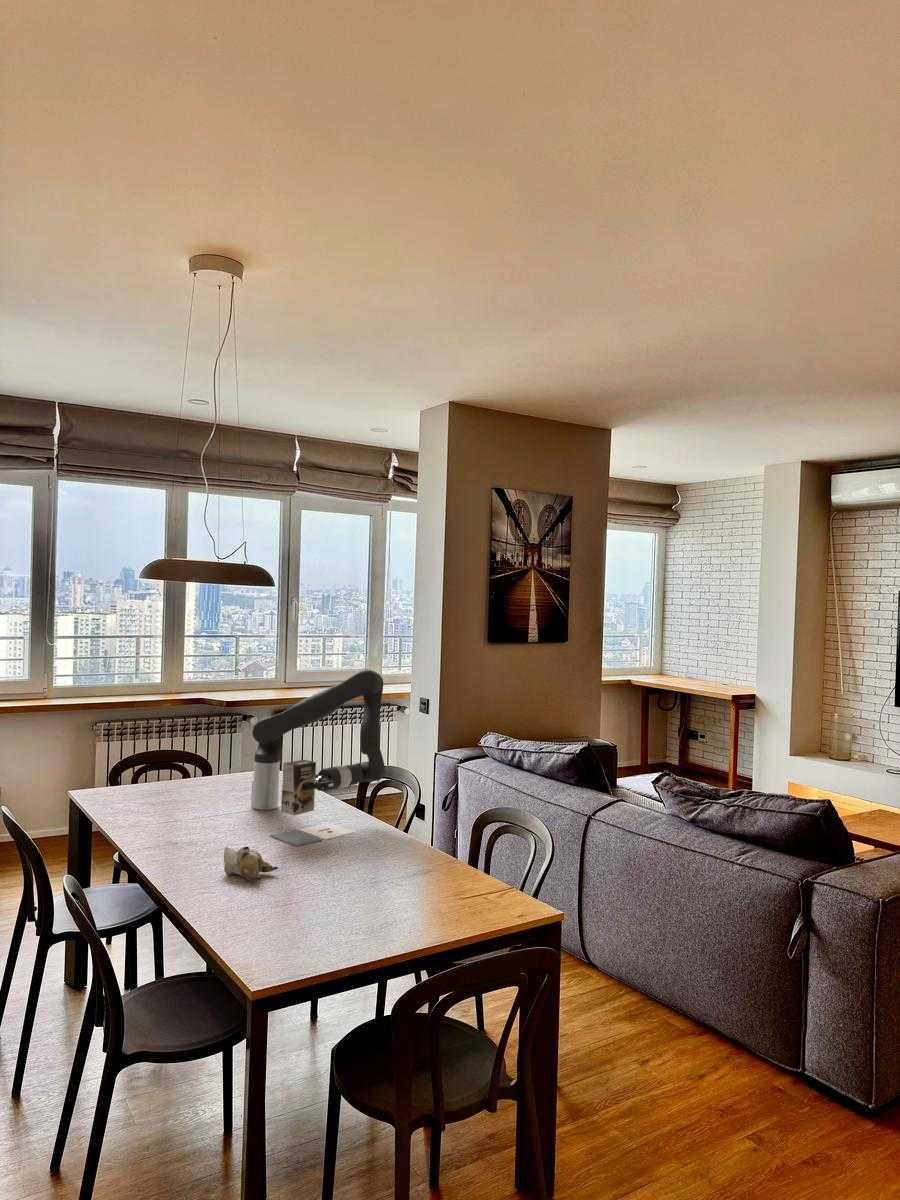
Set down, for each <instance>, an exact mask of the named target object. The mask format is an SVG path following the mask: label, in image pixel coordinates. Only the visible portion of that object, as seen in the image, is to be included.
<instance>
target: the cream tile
mask: <svg viewBox="0 0 900 1200" xmlns="http://www.w3.org/2000/svg"><path fill="white" fill-rule="evenodd" d="M298 831H300V832H302V833H305V834H308V835H311V836H313V837H316V838H319V839H322V840H325V841H326V840H330V839H334V838H338V837H343V836H347V835H351V834H354V833H356V831H355V830H351V829H348V828H345V827H342V826H339V825H336V824H333V823H330V822H326V823H322V824H318V825H314V826H310V827H304V828H300V829H298Z"/></svg>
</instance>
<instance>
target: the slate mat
mask: <svg viewBox="0 0 900 1200" xmlns="http://www.w3.org/2000/svg"><path fill="white" fill-rule="evenodd" d="M270 837H271V838H273V839H276V840H278V841H280V842H284V843H286V844H288V845H291V846H293V847H296V848H297V847H302V846H306V845H310V844H314V843H318V842H322V841H323V839H322V838H319V837H316V836H313V835H310V834H308V833H305V832H302V831H299V830H297V829H292V830H288V831H284V832H279V833H276V834H271V835H270Z"/></svg>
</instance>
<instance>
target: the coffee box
mask: <svg viewBox="0 0 900 1200" xmlns="http://www.w3.org/2000/svg"><path fill="white" fill-rule="evenodd" d="M282 768H283V769H282V786H281V808H280V812H282V813H284V814H287V815H291V816H297V815H303V814H305V813H309V812H313V811H315V796H316V795H315V793H316V790H313V789H311V790H306V791H303V790H302V784H304V783H309V782H312V783H313V781H315V774H317V773H316V770H317V761H312V760H306V759H300V760H299V759H298V760H294V761H289V762H283V767H282Z"/></svg>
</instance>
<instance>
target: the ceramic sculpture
mask: <svg viewBox="0 0 900 1200" xmlns="http://www.w3.org/2000/svg"><path fill="white" fill-rule="evenodd" d="M223 852H224V854H223V863H224V867H223V868H224V869H223V870H224V872H225V875H227V876H230V875H234V874H236V875H239V876H240V877H243V878H246V880H247V881H260V880H261V879H262V878H261V877H260V873H266V874H267V873H270V872H273V871H276V870H278V869H279V866H273V864H270V863H269V862H268V861H265V860H264V859H263V858H262V855H261V854H260V853H259V852H258V851H255V850H251V849H250V848H249V846H244V847H241V848H239V849H238V850H236V849H234V848H229V847H224V851H223Z"/></svg>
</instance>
